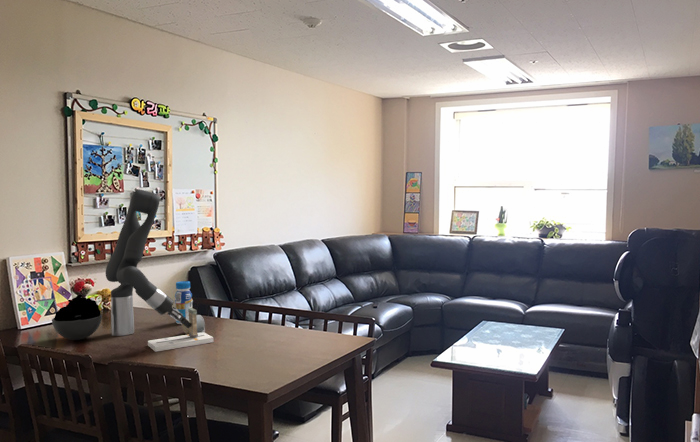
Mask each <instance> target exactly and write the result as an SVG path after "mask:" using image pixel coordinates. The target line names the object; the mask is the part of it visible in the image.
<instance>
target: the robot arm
mask: <svg viewBox="0 0 700 442" xmlns="http://www.w3.org/2000/svg"><path fill="white" fill-rule="evenodd" d="M160 201H161V197H160V195H159V194H158V193H155V192H151V191H147V190H144V189H140V188H137V189H135V190H134V191H133V192H132V195H131V198H130V200H129V204H128V208H127V213H126V216H125V218H124V221H123V222H124V223H123V225H122V227H121V229H120V232H119V236H118V237H117V240H116V245H115V247H114V249H113V252H112V254H111V256H110V258H109V260H108V262H107V264H106V267H105V278H106V280H107V281H108V282H109V283H115V282H116V283H119V284H120V285H118V286H117V287H115V288H113V289H112V290H111V291H110V305H111V307H110V309H111V314H110V327H111V328H110V331H111V336H118V337H119V336H128V335H132V334H134V333H135V319H134V297H133V295H134V293H133V290H135V291H134V292H135V293H136V296H138V297H139V298H141V299H142V300H143V301H144V302H145V303H146V304H147V305H148V306H149V307H151V308H152V309H153V310H154V311H155V312H157V313H158V314H159V315H161V316H163V315H167V316H168V317H171V318H172V319H174V321H175V322H176V321H179V322H180V323H182V324H183V325H184V326H186V327H187V328H190V327H191V325H192V324H191V323H190V322H188V321H187V320H186V318H185V317H184V316H183V315H182V314H181V313H180V312H179V311H178V309H176V306H174V304H175V300H174V299H173V298H171V297H170V296H169V295H167V294H166V293H165V292H164V291H163V290H161V289H160V288H159V287H157V286H156V285H155V284H154V283H152V282H151V281H149V279H148V278H147V276H146V275H145V274H144V273H143V272H142V271H141V269H139V268H138V267H137V266H138V265H139V263H140V262H141V260H143V259H142V258H143V256H144V252H145V248H146V247H145V246H146V244H147V239H148V237H149V234H150V232H151V230H152V227H153V224H154V221H155V218H156V215H157V213H158V209H159V206H160V203H161V202H160ZM137 212H138V213H142V214H145V215H147V216H146V219H145V220H144V222H142V224H140V222H139V219H138V216H137ZM182 324H181V325H182Z"/></svg>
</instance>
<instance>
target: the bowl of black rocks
mask: <svg viewBox="0 0 700 442" xmlns="http://www.w3.org/2000/svg"><path fill="white" fill-rule="evenodd" d="M67 301H68V304H66V305H65V306H62V307H60V308H59V310H57V311H56V312H55V315H54V317H53V318H52V319H51V323H52V324H51V325H52V326H53V328H54V330H55V331H56V332H57V334H58V335H59V336H61V337H63V338H64V339H67V340H71V341H80V340H84V339H86V338H89V337H90V336H92V335H93V334H94V333H95V332H96V331H97V330H98V329H99V327H100V325H101V322H102V319H103V313H101V311H100V310H101V309H100V306H99V305H98V304H97V301H96V300H94V299H92V298H90V297H83V294H79V295H77V296H74V297H73V298H71V299H67Z"/></svg>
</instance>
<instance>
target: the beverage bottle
mask: <svg viewBox="0 0 700 442" xmlns="http://www.w3.org/2000/svg"><path fill="white" fill-rule="evenodd" d="M175 289H176V290H177V291H176V292H175V294H174V299H175V300H174V304H175V306H174V307H175V308H176V309H178V311H179V312H180V313H181V314H182V315H183V316H184V317H185V318H189V312H188V308H193V302H194V300H193V298H192V297H193V293H192V291H191V290H190V289H191V281H189V280H186V281H185V280H181V281H176V283H175ZM175 323H176V324H178V325H182V323H180V322H179V321H176V320H175Z"/></svg>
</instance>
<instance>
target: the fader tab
mask: <svg viewBox="0 0 700 442" xmlns="http://www.w3.org/2000/svg"><path fill="white" fill-rule="evenodd" d="M188 312H189V322H190V323H191V324H192V325H191V327H190V328H189V331H190V333H189V336H190V337H191V338H192V337H198V334H197V318H196V315H198V312H197V309H195V308H193V307H192V308H188Z"/></svg>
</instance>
